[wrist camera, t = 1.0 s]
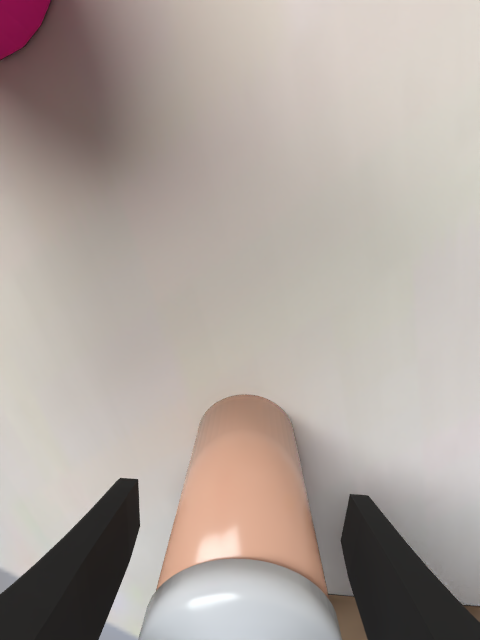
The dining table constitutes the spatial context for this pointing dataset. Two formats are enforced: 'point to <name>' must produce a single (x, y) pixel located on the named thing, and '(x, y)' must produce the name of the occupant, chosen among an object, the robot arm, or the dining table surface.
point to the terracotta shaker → (242, 537)
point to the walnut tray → (351, 619)
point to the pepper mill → (19, 23)
